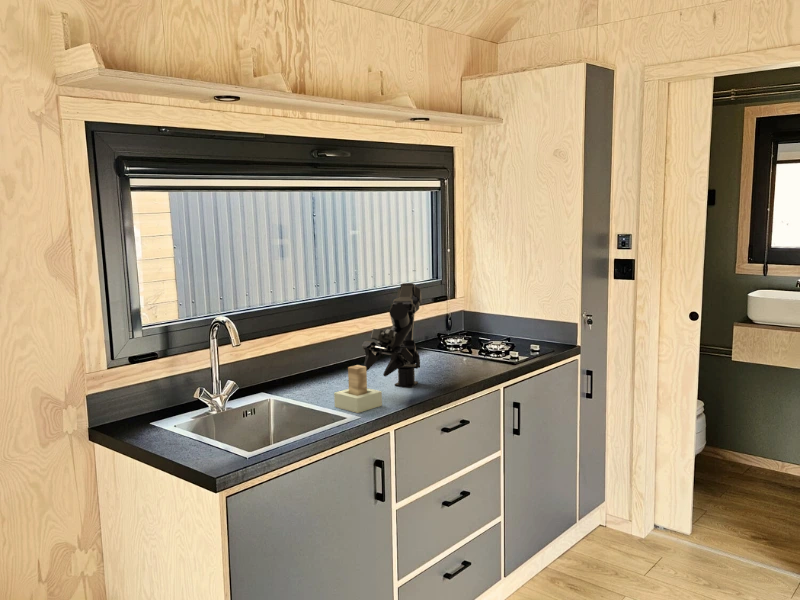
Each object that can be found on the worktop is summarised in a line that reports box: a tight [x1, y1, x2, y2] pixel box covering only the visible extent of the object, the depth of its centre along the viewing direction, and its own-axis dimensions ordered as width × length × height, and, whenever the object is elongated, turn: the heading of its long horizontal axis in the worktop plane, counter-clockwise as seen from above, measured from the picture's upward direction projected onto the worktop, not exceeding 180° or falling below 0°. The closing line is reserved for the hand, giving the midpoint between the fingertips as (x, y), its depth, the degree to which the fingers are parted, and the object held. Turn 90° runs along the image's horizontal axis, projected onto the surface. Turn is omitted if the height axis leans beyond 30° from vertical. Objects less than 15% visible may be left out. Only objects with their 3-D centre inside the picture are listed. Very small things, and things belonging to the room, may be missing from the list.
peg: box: [347, 364, 368, 396], centre depth 221 cm, size 4×4×12 cm
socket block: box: [333, 387, 383, 414], centre depth 222 cm, size 10×10×4 cm
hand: (374, 373), depth 226 cm, fingers open, 9 cm apart
